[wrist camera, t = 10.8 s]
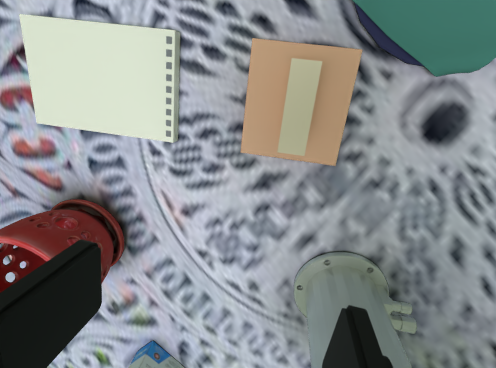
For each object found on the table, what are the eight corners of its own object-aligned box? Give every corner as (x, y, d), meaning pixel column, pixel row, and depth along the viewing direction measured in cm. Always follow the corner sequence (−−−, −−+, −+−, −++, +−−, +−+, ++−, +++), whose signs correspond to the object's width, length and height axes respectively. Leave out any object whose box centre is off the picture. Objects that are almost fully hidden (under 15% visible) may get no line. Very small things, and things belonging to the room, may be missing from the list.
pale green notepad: (180, 33, 30) (174, 30, 28) (177, 140, 34) (173, 142, 32) (31, 17, 31) (18, 13, 30) (46, 121, 35) (36, 123, 34)
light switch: (358, 51, 28) (382, 39, 21) (333, 162, 32) (346, 183, 25) (253, 40, 29) (243, 25, 22) (242, 149, 33) (230, 166, 26)
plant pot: (36, 207, 40) (-59, 253, 29) (106, 181, 37) (29, 221, 26) (82, 277, 44) (12, 341, 33) (149, 258, 41) (97, 322, 30)
